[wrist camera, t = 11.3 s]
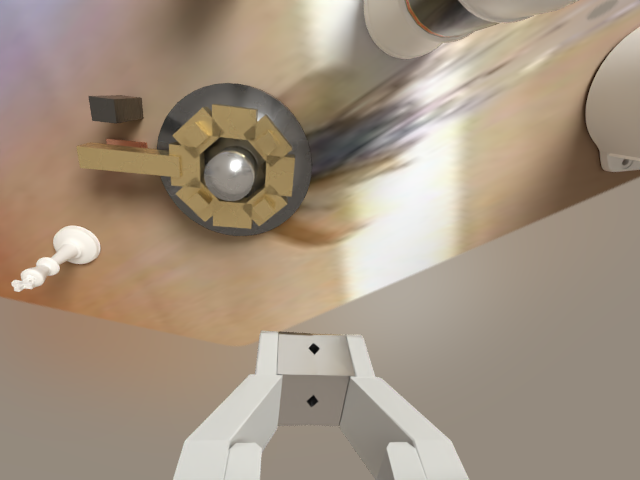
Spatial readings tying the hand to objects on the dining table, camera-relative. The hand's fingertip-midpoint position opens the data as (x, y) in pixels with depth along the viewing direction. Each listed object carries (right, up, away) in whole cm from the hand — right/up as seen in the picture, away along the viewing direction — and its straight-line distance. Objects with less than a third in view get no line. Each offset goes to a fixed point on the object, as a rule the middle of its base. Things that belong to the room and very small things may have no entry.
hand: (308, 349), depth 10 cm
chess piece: (-29, +3, +30) cm, 42 cm away
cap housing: (-12, +12, +27) cm, 32 cm away
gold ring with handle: (-12, +11, +24) cm, 29 cm away
